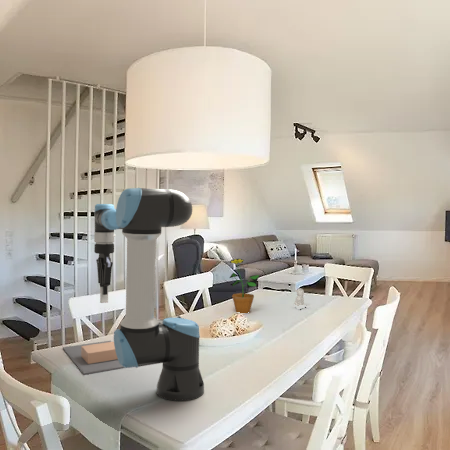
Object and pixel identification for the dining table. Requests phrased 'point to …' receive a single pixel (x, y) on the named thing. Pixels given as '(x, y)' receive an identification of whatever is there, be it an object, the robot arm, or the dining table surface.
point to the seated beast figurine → (299, 297)
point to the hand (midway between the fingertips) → (104, 302)
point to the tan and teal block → (99, 352)
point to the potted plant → (243, 299)
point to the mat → (86, 368)
